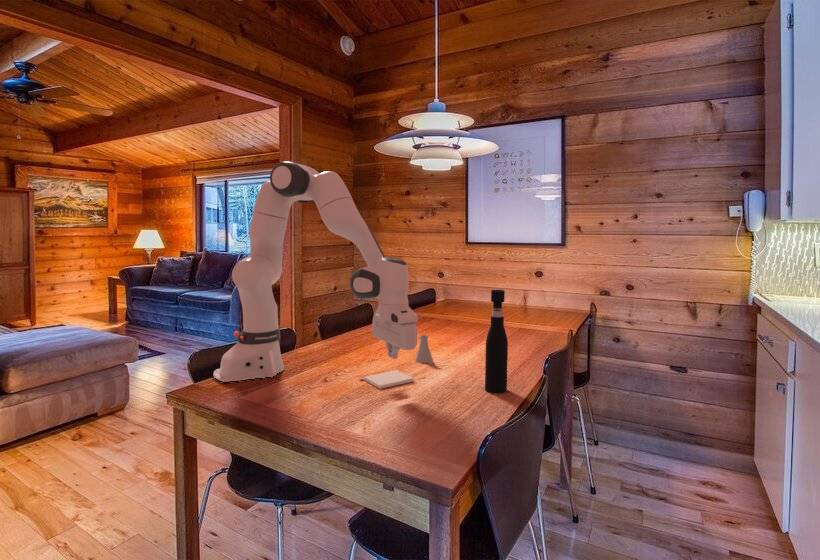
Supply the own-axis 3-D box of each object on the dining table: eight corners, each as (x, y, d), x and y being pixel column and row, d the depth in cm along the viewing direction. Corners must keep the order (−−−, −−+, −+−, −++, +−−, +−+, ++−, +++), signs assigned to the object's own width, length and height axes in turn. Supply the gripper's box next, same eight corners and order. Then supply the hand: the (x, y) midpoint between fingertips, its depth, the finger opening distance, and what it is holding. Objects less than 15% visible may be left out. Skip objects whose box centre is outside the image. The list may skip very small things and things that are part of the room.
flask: (432, 367, 164) (432, 338, 162) (412, 365, 165) (411, 337, 164) (435, 361, 171) (435, 334, 169) (415, 360, 172) (415, 333, 171)
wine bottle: (502, 395, 136) (504, 292, 133) (481, 391, 140) (483, 291, 136) (509, 388, 142) (512, 290, 138) (489, 384, 145) (491, 288, 142)
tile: (363, 380, 146) (380, 389, 138) (363, 376, 146) (380, 385, 138) (396, 373, 153) (413, 381, 145) (396, 370, 153) (413, 377, 145)
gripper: (367, 307, 147) (366, 350, 148) (402, 319, 130) (401, 368, 131) (384, 305, 150) (384, 348, 152) (421, 317, 133) (420, 364, 135)
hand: (392, 357), depth 141 cm, fingers closed
